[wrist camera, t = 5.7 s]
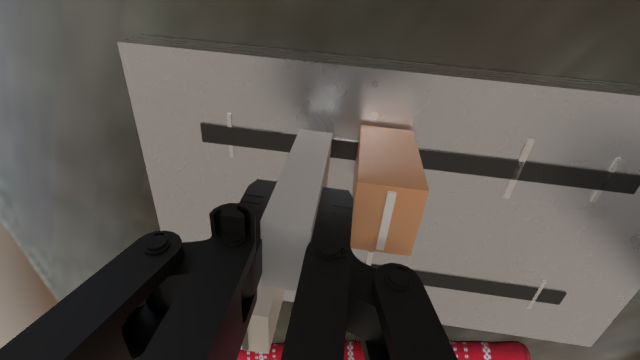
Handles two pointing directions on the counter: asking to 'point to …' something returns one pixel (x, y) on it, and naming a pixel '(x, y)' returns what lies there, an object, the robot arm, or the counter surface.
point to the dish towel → (470, 355)
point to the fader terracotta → (387, 191)
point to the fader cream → (263, 319)
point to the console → (438, 163)
